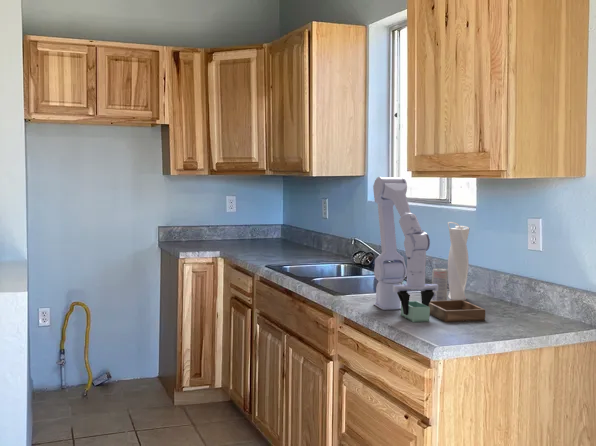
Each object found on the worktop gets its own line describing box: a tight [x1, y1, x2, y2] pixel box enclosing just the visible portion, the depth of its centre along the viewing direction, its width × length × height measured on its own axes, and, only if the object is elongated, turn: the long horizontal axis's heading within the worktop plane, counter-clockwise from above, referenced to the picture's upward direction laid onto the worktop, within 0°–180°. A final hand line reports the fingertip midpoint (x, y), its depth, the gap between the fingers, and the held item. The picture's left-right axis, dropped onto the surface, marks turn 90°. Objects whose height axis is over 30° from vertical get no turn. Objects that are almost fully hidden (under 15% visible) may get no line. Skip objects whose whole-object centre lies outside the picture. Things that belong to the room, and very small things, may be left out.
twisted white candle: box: [447, 221, 470, 301], centre depth 249 cm, size 8×7×28 cm
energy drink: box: [431, 267, 449, 301], centre depth 241 cm, size 5×5×12 cm
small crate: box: [400, 300, 430, 323], centre depth 217 cm, size 10×6×4 cm, turn 13°
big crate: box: [428, 299, 486, 323], centre depth 221 cm, size 15×13×4 cm
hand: (414, 313), depth 217 cm, fingers closed on small crate, 5 cm apart
